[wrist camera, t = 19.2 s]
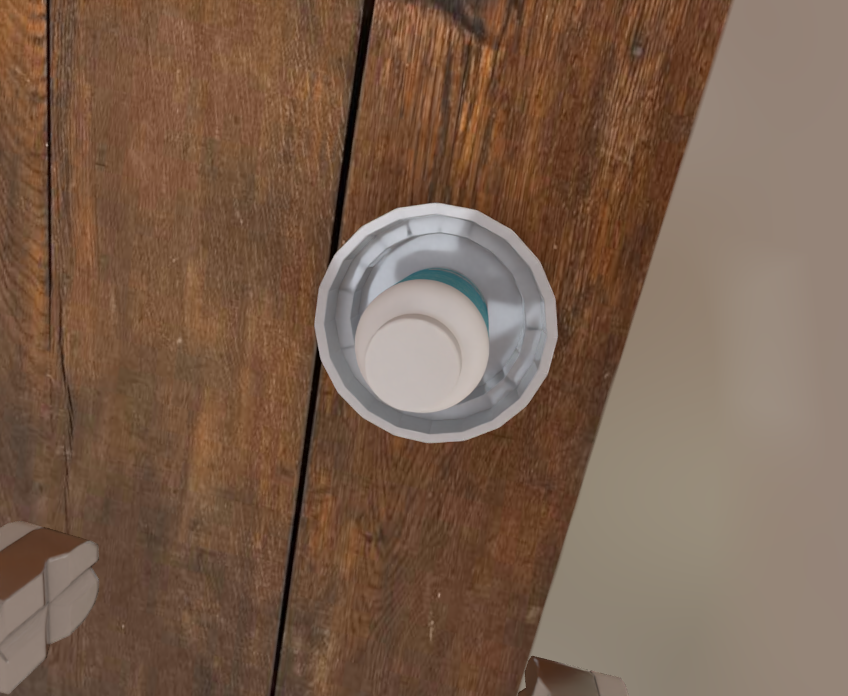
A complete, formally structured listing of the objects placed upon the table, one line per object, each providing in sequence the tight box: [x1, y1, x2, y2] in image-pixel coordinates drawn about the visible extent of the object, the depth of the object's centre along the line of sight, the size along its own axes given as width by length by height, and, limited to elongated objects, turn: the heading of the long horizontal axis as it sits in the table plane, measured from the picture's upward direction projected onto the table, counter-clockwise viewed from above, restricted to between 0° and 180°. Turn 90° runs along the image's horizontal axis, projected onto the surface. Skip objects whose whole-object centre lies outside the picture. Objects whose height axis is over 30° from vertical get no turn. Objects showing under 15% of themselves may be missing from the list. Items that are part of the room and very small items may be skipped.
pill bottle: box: [355, 267, 489, 413], centre depth 28 cm, size 8×7×14 cm
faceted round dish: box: [314, 202, 558, 443], centre depth 33 cm, size 16×16×6 cm
